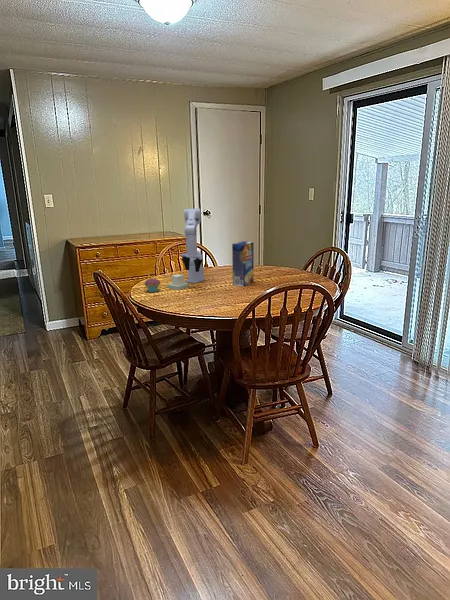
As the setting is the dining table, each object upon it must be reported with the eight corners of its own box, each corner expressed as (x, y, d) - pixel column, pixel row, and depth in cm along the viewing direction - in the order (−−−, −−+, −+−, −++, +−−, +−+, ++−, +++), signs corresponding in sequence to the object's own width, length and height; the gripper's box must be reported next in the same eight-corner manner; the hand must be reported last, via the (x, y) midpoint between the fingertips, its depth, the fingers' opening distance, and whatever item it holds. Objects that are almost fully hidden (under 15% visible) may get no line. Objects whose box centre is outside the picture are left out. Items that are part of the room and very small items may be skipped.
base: (178, 284, 240) (178, 281, 240) (189, 286, 235) (189, 283, 234) (167, 287, 234) (166, 284, 233) (178, 290, 228) (178, 286, 228)
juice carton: (244, 286, 233) (243, 244, 226) (232, 285, 237) (232, 244, 230) (253, 282, 243) (253, 241, 236) (242, 280, 246) (242, 241, 240)
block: (177, 282, 237) (177, 274, 236) (184, 283, 234) (183, 275, 233) (171, 284, 233) (171, 275, 232) (178, 285, 230) (177, 276, 229)
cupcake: (145, 293, 222) (144, 272, 219) (144, 289, 230) (142, 269, 227) (161, 292, 224) (160, 271, 221) (159, 288, 232) (158, 268, 229)
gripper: (177, 246, 227) (178, 270, 231) (196, 249, 218) (197, 273, 222) (185, 245, 232) (186, 268, 236) (204, 247, 224) (205, 271, 228)
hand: (192, 270), depth 230 cm, fingers open, 7 cm apart
